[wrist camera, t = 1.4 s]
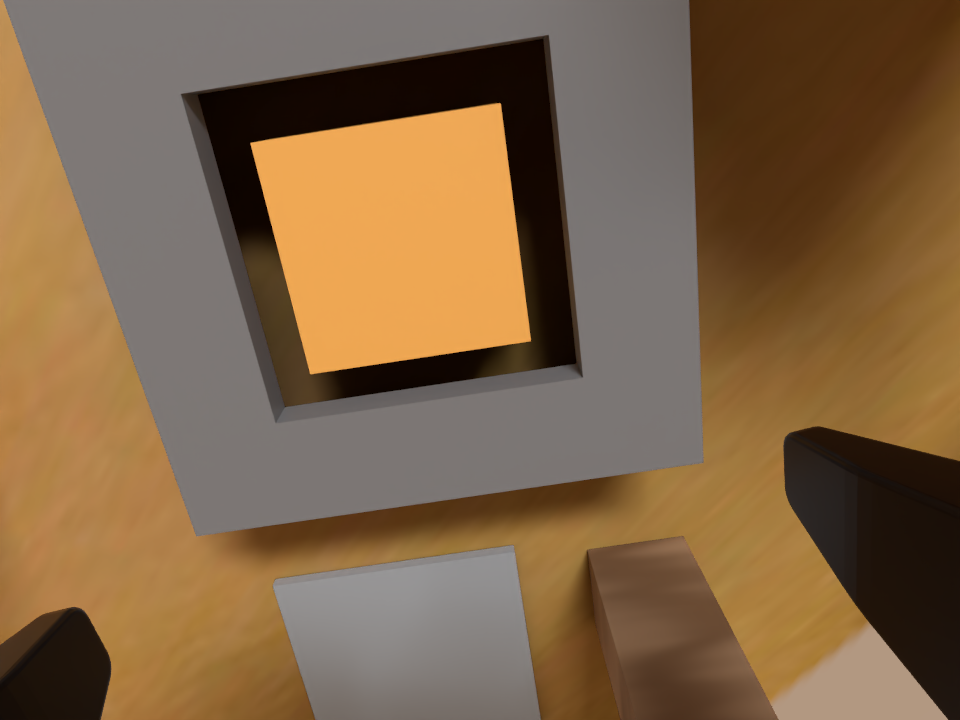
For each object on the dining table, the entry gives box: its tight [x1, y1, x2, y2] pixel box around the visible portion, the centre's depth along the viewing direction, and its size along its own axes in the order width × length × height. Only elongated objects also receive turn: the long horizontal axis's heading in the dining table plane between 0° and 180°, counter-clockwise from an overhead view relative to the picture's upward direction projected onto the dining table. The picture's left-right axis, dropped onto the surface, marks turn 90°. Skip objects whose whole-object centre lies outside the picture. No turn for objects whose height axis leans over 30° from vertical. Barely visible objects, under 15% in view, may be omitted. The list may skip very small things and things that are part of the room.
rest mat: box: [273, 545, 541, 720], centre depth 26 cm, size 9×9×1 cm
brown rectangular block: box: [587, 536, 778, 720], centre depth 21 cm, size 4×4×10 cm
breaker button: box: [250, 103, 531, 374], centre depth 17 cm, size 6×6×3 cm
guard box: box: [3, 0, 703, 536], centre depth 18 cm, size 14×14×5 cm
